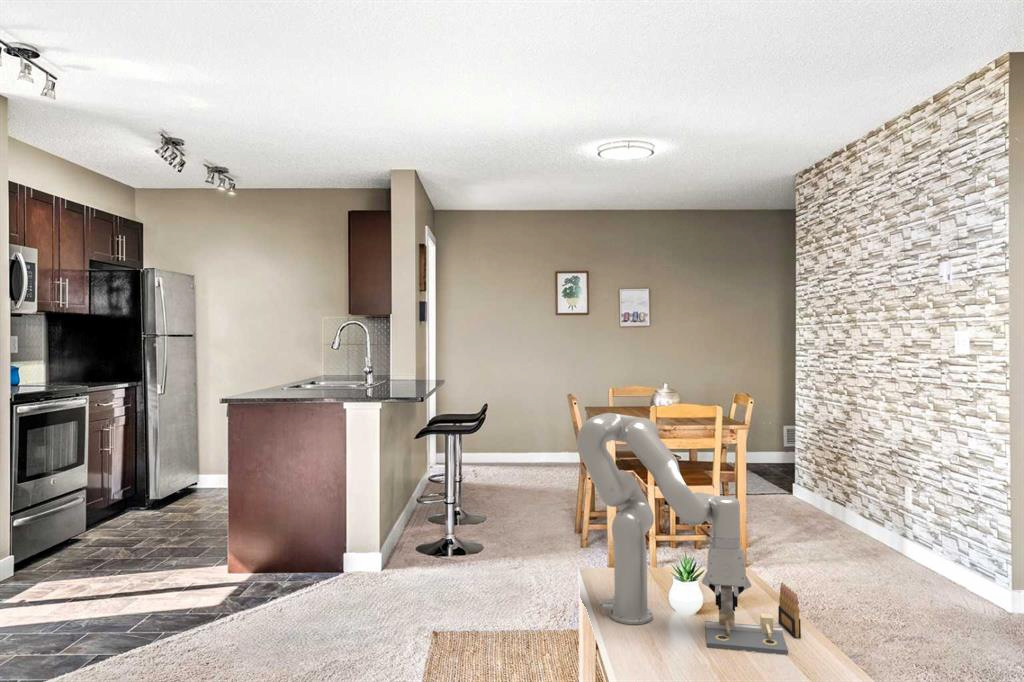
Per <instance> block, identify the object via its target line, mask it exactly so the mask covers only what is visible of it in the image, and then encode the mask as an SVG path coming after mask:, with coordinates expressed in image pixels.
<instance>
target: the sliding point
mask: <svg viewBox="0 0 1024 682" xmlns="http://www.w3.org/2000/svg"><path fill="white" fill-rule="evenodd" d="M720 593H721V610H719V609H718V622H719V625H726V630H727V636H730V627H729V626H735V623H736V622H735V620H736V619H735V611H733V596H732V593H733V586H723V585H720Z"/></svg>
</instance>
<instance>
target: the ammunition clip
mask: <svg viewBox="0 0 1024 682" xmlns="http://www.w3.org/2000/svg"><path fill="white" fill-rule="evenodd" d="M798 598H799V597H798V595H797V593H796V592H795V591H794V590H792V589H791V588H790V587H789V586H788V585H786V584H785V583H784V582H783V581H782V582H781V583H780V589H779V598H778V599H779V605H778V610H777V611H778V617H777V618H778V620H777V622H778V625H780V626H781V627H782V629H783V630H785V631H786V632H787V633H788V635H790V636H791V637H792V638H793V639H802V632H801V631H802V630H801V629H802V626H801V618H800V607H799V599H798Z"/></svg>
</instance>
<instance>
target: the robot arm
mask: <svg viewBox="0 0 1024 682" xmlns="http://www.w3.org/2000/svg"><path fill="white" fill-rule="evenodd" d="M659 432H660V431H659V427H658V426H657V424H656V423H655V422H654V421H653V420H652V419H649V418H647V417H640V416H633V415H627V414H620V413H614V412H607V413H602V414H598V415H594V416H592V417H590V418H589V419H587V420H586V421H585V422H583V424H582V426H581V427H580V428H579V431H578V434H577V437H576V447H577V451H578V454H579V457H580V458H581V461H582V462H583V465H584V466H585V468H586V470H587V472H588V474H589V477H590V479H591V481H592V483H593V485H594V487H595V489H596V491H597V494H598V495H599V498H600V499H601V501H602V502H603V503H604V505H606V506H608V507H611V508H615V507H617V509H618V510H619V511H618V512H617V513H616V515H615V516H614V518H613V520H612V525H611V536H612V542H613V563H614V565H613V566H614V568H613V569H614V571H613V572H614V574H613V575H614V578H613V579H614V597H613V598H611V599H605V598H600V599H599V607H602V609H606V610H607V609H609V611H608V613H609V617H610V619H612V620H613V621H614V622H615V621H616V622H618V623H621V624H626V625H643V624H646V623H647V624H648V623H649V622H651V621H652V620H653V619H654V614H653V613H654V612H653V611H652V610H651V609H649V608H648V553H647V545H646V544H647V543H646V534H647V533H648V532H649V531H650V530H651V529H652V527H653V525H654V522H655V521H654V520H655V519H654V518H655V516H654V512H653V510H652V507H651V505H650V504H649V502H648V500H647V498H646V495H645V494H644V492H643V490H642V488H641V486H640V484H639V483H638V481H637V479H636V477H634V475H633V474H632V473H630V472H628V471H626V470H624V469H619V468H618V466H617V464H616V462H615V459H614V458H613V455H611V453H610V452H609V451H608V449H607V448H606V444H607V443H609V442H611V441H615V442H621V443H625V444H626V445H627V446H628V447H629V449H630V450H631V451H632V452H633V454H634V455H635V456H636V458H637V459H638V460H639V461H640V462H641V464H642V465H643V466H644V467H645V468H646V470H648V472H649V473H650V475H651V476H652V478H653V479H654V483H656V486H657V488H658V489H659V492H660V493H661V494H662V497H663V498H664V500H665V502H667V505H668V506H670V508H671V509H672V511H674V512H675V514H676V515H677V516H678V517H679V519H680V520H681V521H682V522H683V523H685V524H686V525H689V526H692V527H697V526H700V525H702V524H703V523H704V522H706V521H707V520H709V519H710V521H711V535H710V536H706V537H705V538H706V542H707V543H710V544H709V547H708V552H707V561H706V564H707V565H706V572H705V574H704V575H703V577H702V579H701V584H702V585H704V586H706V587H707V588H708V589H710V590H711V591H712V592H713V594H714V595H715V606H717V609H718V611H719V610H721V589H720V585H723V586H732V596H733V611H734V612H736V608H738V607H739V606H738V605H739V603H738V597H740V596H739V595H740V594H741V593H742V592H744V591H745V590H747V589H750V588H752V583H751V582H750V581H751V580H750V579H749V578H748V576H747V569H746V557H745V551H744V548H743V547H742V546H741V502H740V501H739V499H738V498H736V497H734V496H730V495H729V496H728V495H713V494H709V493H705V492H700V491H698V492H694V493H693V492H692V490H691V489H690V488H689V486H688V485H687V484H686V482H685V481H684V478H683V476H682V474H681V471H680V466H679V462H678V459H677V458H676V456H675V455H674V454H673V452H671V450H670V449H669V448H668V447H667V445H666V444H665V443H664V442H663V441H662V439H660V437H659V435H660V433H659Z"/></svg>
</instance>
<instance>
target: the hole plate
mask: <svg viewBox="0 0 1024 682" xmlns="http://www.w3.org/2000/svg"><path fill="white" fill-rule="evenodd" d="M773 616H774V615H772V613H762V612H761V613H759V618H760V620H759V622H760V623H759V625H758V624H757V625H756V624H745V623H736V622H735V626H729V627H730V636H727V630H726V625H719V621H711V620H705V634H706V636H705V637H706V648H710V649H721V650H729V649H730V650H731V651H732V650H733V651H740V650H746V651H745V652H750V651H755V652H754V653H761V652H762V654H764V653H765V654H771V653H776V655H782V654H788V655H789V648H788V645H787V643H786V639H785V637H784V629H783V627H782V626H781V627H782V628H781V627H780V626H774V617H773Z"/></svg>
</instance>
